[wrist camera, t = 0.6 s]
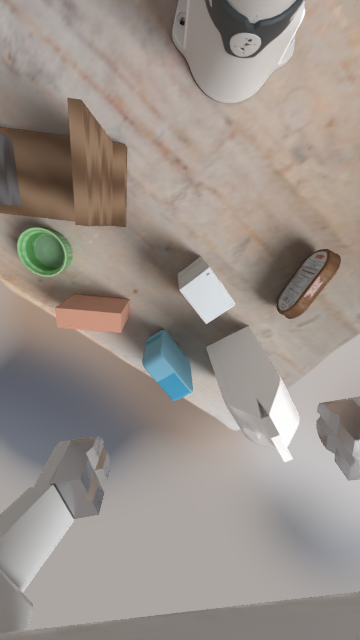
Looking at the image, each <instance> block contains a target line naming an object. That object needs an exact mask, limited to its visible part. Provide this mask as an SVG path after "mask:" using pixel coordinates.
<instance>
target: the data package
mask: <svg viewBox="0 0 360 640" xmlns="http://www.w3.org/2000/svg"><path fill="white" fill-rule="evenodd" d="M142 363H143V366H144V368H145V369H146V370H147V371H148V373H149V374H150V375H151V376H152V377H153V378H154V379H155V381H156V382H157V383H158V384H159V385H160V386H161V387H162V389H163V390H164V391H165V392H166V393H167V394H168V396H169V397H170V398H171V399H172V400H173V401H176V400H178V399H180V398H182V397H184V396H185V395H187V394H189V393H191V392H192V391H193V385H192V377H191V368H190V363H189V361H188V359H187V358H186V356H185V355H184V354H183V353H182V351H181V350H180V349H179V347H178V346H177V345H176V343H175V342H174V341H173V339H172V338H171V337H170V336H169V334H168V333H167V332H166V331H165V330H164V329H162V330H160V331H159V332H157V333H155V334H154V335H152V336H151V337H149V338H148V339H147V342H146V347H145V351H144V355H143V359H142Z"/></svg>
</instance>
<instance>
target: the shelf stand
mask: <svg viewBox="0 0 360 640" xmlns="http://www.w3.org/2000/svg"><path fill="white" fill-rule="evenodd" d="M68 113H69V129H70V136H63V135H56V134H49V133H41V132H34V131H26V130H19V129H12V128H4V127H0V213H6V214H14V215H23V216H32V217H41V218H50V219H59V220H68V221H75V222H76V225H83V226H121V227H126V193H127V146H126V145H125V144H123V143H115V142H112V140H111V139H110V138H109V136H108V135H107V134H106V132H105V131H104V130H103V128H102V127H101V126H100V124H99V123H98V122H97V120H96V119H95V118H94V116H93V115H92V113H91V112H90V111H89V109H88V108H87V107H86V105H85V104H84V103H83V101H82V100H79V99H72V98H68Z"/></svg>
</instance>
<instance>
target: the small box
mask: <svg viewBox="0 0 360 640" xmlns="http://www.w3.org/2000/svg"><path fill="white" fill-rule="evenodd" d="M178 285H179V291H180V293H181V294H182V295H183V296H184V298H185V299H186V300H187V301H188V303H189V304H190V305H191V306H192V308H193V309H194V310H195V311H196V313H197V314H198V315H199V316H200V318H201V319H202V320H203V321H204V323H205V324H207V323H209V322H210V321H212V320H213V319H215V318H216V317H218V316H219V315H221V314H222V313H224V312H225V311H227V310H228V309H230V308H231V307H233V306H235V302H234V301H233V299H232V298H231V296H230V295H229V293H228V292H227V290H226V289H225V287H224V286H223V284H222V283H221V281H220V280H219V279H218V278H217V276H216V275H215V273H214V272H213V271H212V269H211V268H210V267H209V265H208V264H207V263H206V262H205V261H204V259H203V258H202V257H201V256H200V257H199V258H197V259H196V260H195V261H194V262H192V263H191V264H190V265H188V266H187V267H186V268H184V269H183V270H182V271H180V272H179V273H178Z"/></svg>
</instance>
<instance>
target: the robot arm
mask: <svg viewBox="0 0 360 640" xmlns="http://www.w3.org/2000/svg"><path fill="white" fill-rule="evenodd" d="M304 4H305V0H178V4H177V9H176V14H175V19H174V23H173V29H172V40H173V42H174V44H175V46H176V47H177V48H178V50H179V51H180V52H181V53H182V54H183V55H184V56H185V58H186V60H187V62H188V64H189V67H190V70H191V72H192V75H193V77H194V79H195V81H196V82H197V84H198V86H199V87H200V88H201V89H202V91H203V92H204V93H206V94H207V95H208V96H209V97H211V98H212V99H214V100H216V101H219V102H223V103H237V102H241V101H243V100H245V99H247V98H249V97H251V96H252V95H253V94H255V93H256V92H257V91H258V90H259V89H260V88H261V87H262V86H263V84H264V83H265V82H266V80H267V79H268V78H269V76H270V75H271V74H272V73H273V72H274V71H275V70H277V69H278V68H280V67H281V66H283V65H284V64H286V63H287V62H288V61H289V59H290V58H291V56H292V54H293V51H294V43H295V33H296V31H297V29H298V27H299V25H300V24H301V22H302V20H303V17H304V14H305V9H304ZM181 21H184V23H185V24H184V25H181V24H180V22H181ZM317 412H318V413H319V414H320V418H319V419H318V420H317V431H318V435H319V437H320V439H321V441H322V443H323V445H324V446H325V447H326V449H328V450H329V451H331V452H333V453H334V454H335V462H336V463H337V465H338V466H339V467H340V469H341V471H342V472H343V473H344V475H345V476H346V478H347V479H348V480H358V479H360V397H355V398H349V399H342V400H336V401H330V402H324V403H319V405H318V410H317ZM103 445H104V443H103V440H102V438H101V437H94V438H85V439H77V440H71V441H63V442H60V443H59V444H57V445H56V447H55V449H54V451H53V453H52V454H51V456H50V458H49V460H48V462H47V464H46V466H45V467H44V469H43V471H42V473H41V474H40V476H39V478H38V480H37V482H36V484H35V485H34V487H32V488H29V489H28V490H26V491H25V492H24V493H23V494H22V495H21V496H20V497H19V498H18V499H17V500H16V501H14V502H13V503H12V504H11V505H10V506H9V507H8V508H7V509H6V510H5V511H4V512H2V513H1V514H0V640H360V592H353V593H344V594H336V595H327V596H319V597H310V598H301V599H293V600H285V601H276V602H267V603H258V604H250V605H241V606H233V607H225V608H216V609H207V610H198V611H191V612H182V613H173V614H164V615H156V616H147V617H138V618H130V619H121V620H113V621H104V622H96V623H88V624H78V625H70V626H61V627H53V628H44V629H36V630H27V627H28V625H29V622H30V619H31V616H32V613H33V610H34V608H33V604H32V602H31V601H30V600H29V599H28V598H27V597H26V596H25V595H24V594H23V592H24V590H25V589H26V587H27V586H28V585H29V583H30V582H31V580H32V579H33V578H34V576H35V575H36V573H37V572H38V571H39V569H40V568H41V566H42V565H43V564H44V562H45V561H46V559H47V558H48V557H49V555H50V554H51V552H52V551H53V550H54V548H55V547H56V545H57V544H58V543H59V541H60V540H61V538H62V537H63V536H64V534H65V533H66V531H67V530H68V529H69V527H70V526H71V524H72V523H73V522H74V519H76V518H82V517H87V516H94V515H98V514H99V511H100V507H101V504H102V500H103V496H104V491H103V489H102V486H103V485H104V484H105V483H106V481H107V480H108V477H109V472H110V459H109V455H108V452H107V451H105V450H104V449H102V448H103ZM26 630H27V631H26Z"/></svg>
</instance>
